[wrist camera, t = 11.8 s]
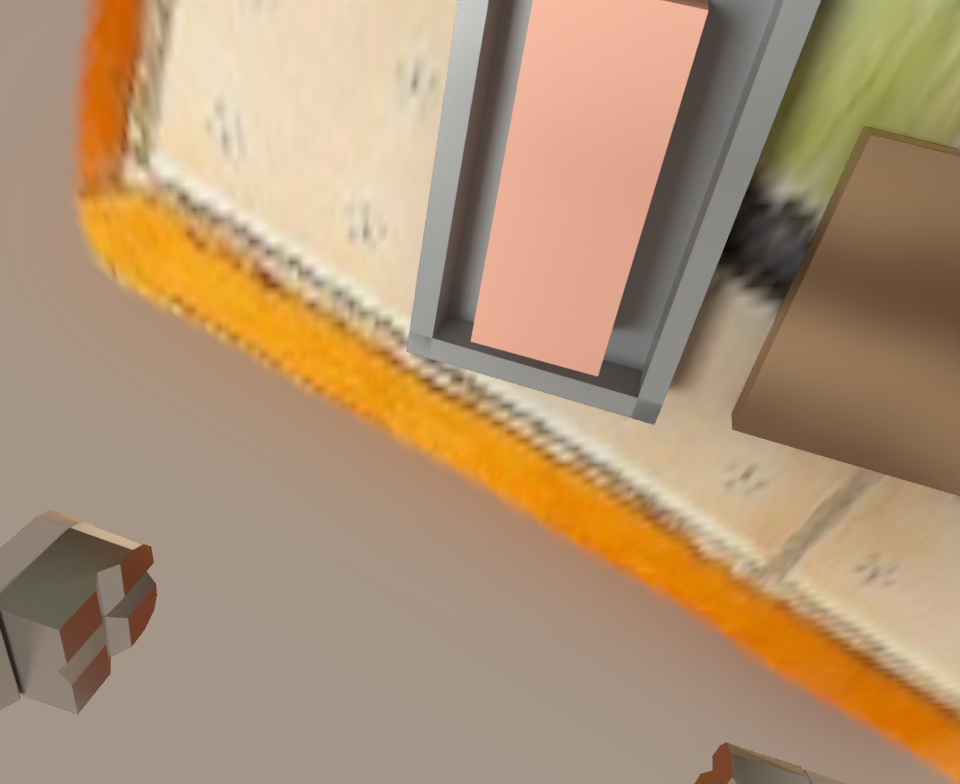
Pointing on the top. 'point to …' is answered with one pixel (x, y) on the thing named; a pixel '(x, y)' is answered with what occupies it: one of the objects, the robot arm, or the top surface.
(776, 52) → the tray
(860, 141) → the brown slab
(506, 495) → the top surface
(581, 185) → the salmon pink rectangular prism
